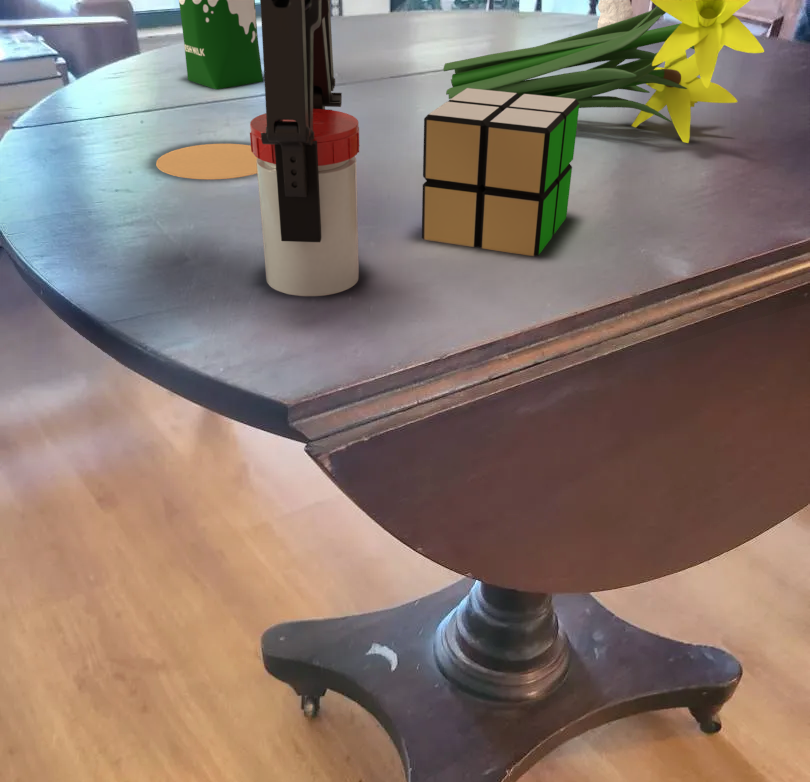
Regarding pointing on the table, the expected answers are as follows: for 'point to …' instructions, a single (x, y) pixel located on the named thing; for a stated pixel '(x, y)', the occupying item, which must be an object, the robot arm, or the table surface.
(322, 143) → the lid
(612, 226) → the table surface
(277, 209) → the jar
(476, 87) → the daffodil flowers
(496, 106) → the puzzle cube
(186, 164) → the coaster
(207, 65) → the milk carton
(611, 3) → the koala figurine
